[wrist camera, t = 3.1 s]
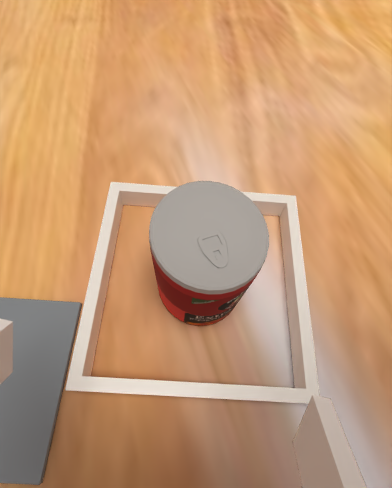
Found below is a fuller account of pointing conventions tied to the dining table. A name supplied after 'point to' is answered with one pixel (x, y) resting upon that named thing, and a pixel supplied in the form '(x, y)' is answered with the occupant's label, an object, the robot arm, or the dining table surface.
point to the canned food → (206, 249)
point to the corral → (301, 393)
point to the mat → (33, 384)
